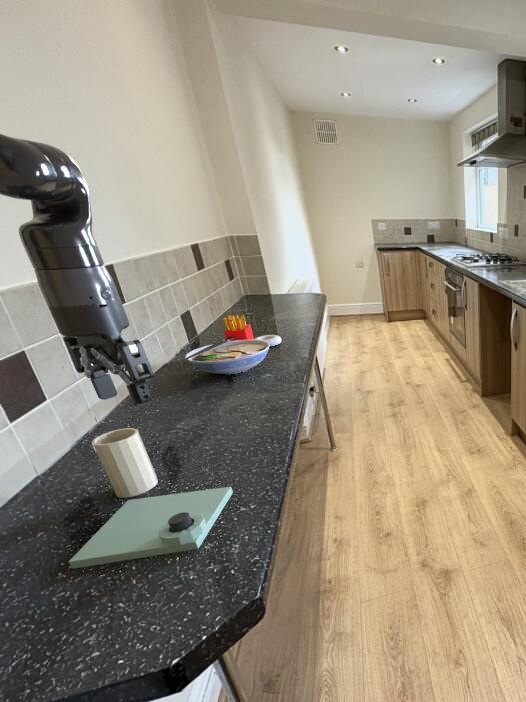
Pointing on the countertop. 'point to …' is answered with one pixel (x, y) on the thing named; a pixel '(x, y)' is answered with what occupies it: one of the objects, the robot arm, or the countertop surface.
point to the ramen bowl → (228, 356)
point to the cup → (125, 462)
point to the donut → (270, 339)
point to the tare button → (180, 522)
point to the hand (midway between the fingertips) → (126, 401)
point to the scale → (153, 527)
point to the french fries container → (237, 328)
